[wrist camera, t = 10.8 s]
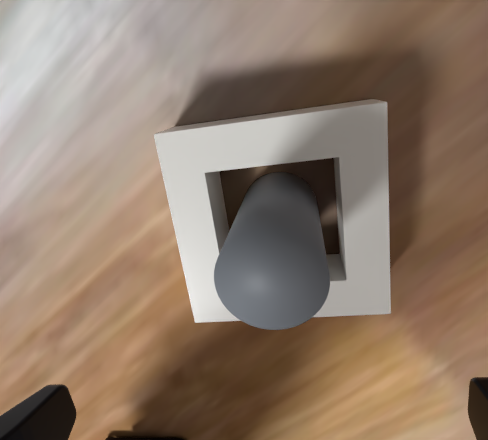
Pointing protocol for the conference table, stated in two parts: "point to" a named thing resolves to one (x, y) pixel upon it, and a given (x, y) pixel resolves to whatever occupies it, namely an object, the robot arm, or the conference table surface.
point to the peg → (274, 256)
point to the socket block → (279, 152)
